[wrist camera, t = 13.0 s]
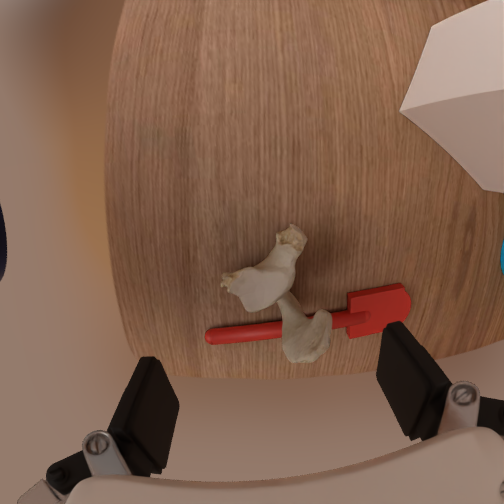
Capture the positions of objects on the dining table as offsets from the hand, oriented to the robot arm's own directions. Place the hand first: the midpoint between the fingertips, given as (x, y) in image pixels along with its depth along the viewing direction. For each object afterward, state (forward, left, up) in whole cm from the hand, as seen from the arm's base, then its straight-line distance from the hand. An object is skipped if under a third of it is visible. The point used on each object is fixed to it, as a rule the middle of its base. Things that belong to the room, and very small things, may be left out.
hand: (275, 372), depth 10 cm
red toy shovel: (+3, -5, -12) cm, 13 cm away
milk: (+21, +13, -12) cm, 27 cm away
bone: (0, 0, -12) cm, 12 cm away
